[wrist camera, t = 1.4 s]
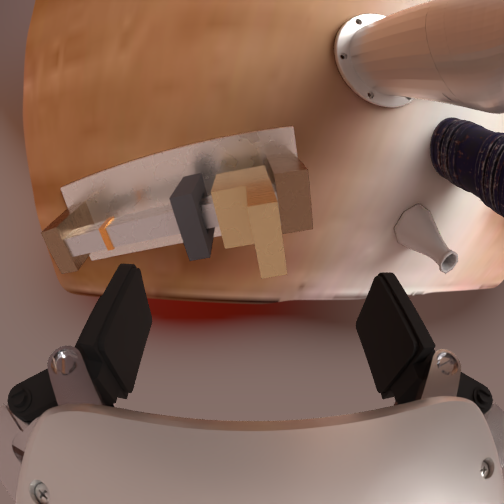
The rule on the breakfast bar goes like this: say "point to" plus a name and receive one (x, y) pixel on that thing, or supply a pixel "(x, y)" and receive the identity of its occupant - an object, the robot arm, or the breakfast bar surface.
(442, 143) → the storage jar
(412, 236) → the flask
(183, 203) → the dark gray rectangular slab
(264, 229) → the wooden block
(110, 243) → the pipe rig
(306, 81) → the breakfast bar surface
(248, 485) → the robot arm
